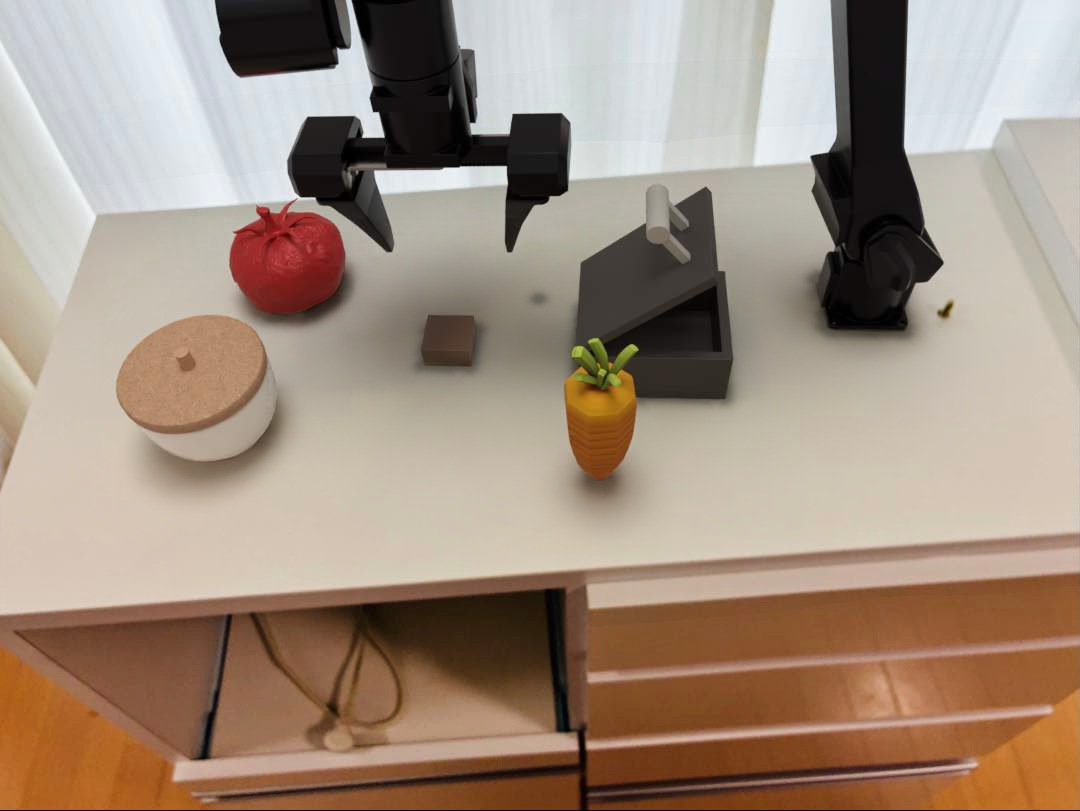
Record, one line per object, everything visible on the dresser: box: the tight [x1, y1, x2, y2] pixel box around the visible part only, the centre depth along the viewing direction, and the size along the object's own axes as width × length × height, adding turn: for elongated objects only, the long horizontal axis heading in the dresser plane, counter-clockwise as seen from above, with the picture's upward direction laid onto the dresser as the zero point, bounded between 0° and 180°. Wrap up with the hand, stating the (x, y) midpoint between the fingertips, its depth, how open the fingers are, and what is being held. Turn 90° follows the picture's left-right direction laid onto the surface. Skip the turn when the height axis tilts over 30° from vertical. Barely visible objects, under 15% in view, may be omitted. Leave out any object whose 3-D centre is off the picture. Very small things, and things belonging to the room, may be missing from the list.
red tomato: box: [228, 197, 346, 315], centre depth 72 cm, size 10×10×9 cm
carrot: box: [563, 338, 639, 481], centre depth 56 cm, size 5×5×15 cm
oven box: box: [578, 270, 734, 400], centre depth 67 cm, size 12×10×5 cm
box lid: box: [575, 183, 719, 352], centre depth 61 cm, size 12×10×5 cm
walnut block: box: [420, 314, 477, 367], centre depth 70 cm, size 4×4×2 cm
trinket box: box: [115, 314, 278, 462], centre depth 63 cm, size 11×11×9 cm
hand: (450, 248), depth 63 cm, fingers open, 9 cm apart
